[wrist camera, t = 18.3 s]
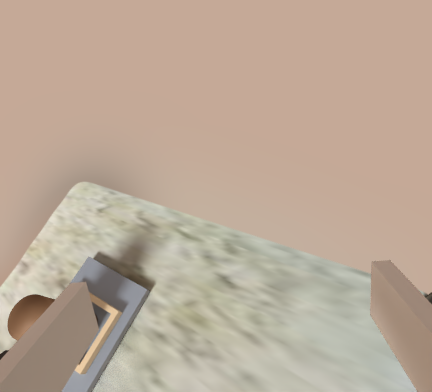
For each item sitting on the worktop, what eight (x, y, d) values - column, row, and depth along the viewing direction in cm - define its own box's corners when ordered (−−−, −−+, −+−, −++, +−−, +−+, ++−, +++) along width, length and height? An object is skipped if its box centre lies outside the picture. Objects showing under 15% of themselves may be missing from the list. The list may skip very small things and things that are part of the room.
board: (150, 291, 49) (143, 287, 46) (78, 412, 42) (66, 416, 40) (93, 259, 53) (84, 253, 50) (19, 365, 46) (4, 366, 43)
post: (104, 318, 46) (58, 306, 36) (84, 352, 44) (28, 349, 34) (80, 303, 48) (28, 287, 37) (59, 334, 46) (-2, 327, 35)
